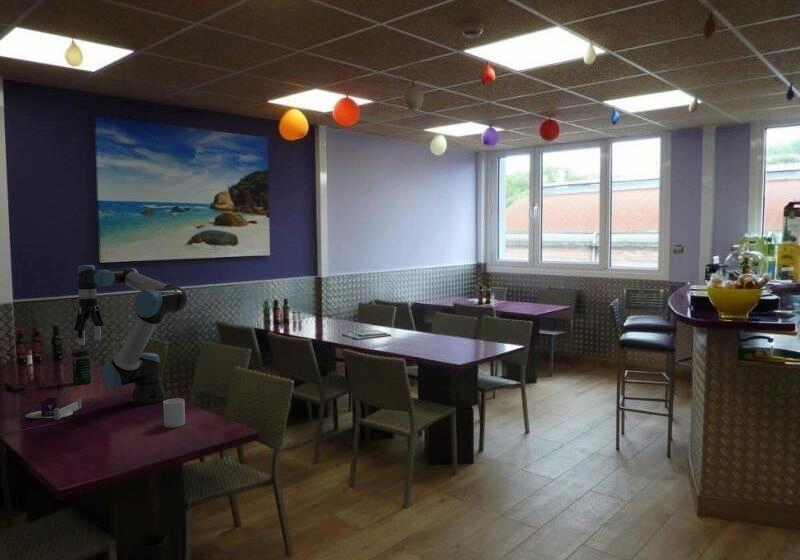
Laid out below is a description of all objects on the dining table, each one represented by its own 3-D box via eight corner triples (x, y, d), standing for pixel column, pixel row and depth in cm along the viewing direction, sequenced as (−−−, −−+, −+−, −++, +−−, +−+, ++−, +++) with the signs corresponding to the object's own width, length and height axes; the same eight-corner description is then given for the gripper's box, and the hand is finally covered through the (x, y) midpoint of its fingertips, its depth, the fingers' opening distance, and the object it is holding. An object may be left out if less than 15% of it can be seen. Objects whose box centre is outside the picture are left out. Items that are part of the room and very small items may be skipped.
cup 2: (167, 429, 244) (166, 404, 243) (159, 421, 253) (158, 398, 253) (187, 425, 249) (186, 401, 248) (179, 418, 258) (178, 395, 257)
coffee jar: (93, 383, 321) (91, 349, 319) (77, 385, 315) (75, 351, 314) (86, 380, 327) (85, 346, 326) (71, 382, 322) (69, 348, 320)
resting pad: (77, 411, 269) (77, 411, 269) (65, 418, 260) (65, 417, 260) (34, 411, 270) (34, 410, 270) (20, 417, 261) (20, 417, 261)
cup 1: (41, 417, 259) (41, 402, 259) (41, 412, 268) (40, 397, 267) (59, 415, 263) (58, 400, 262) (58, 409, 271) (57, 394, 271)
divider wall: (81, 407, 275) (81, 398, 275) (58, 419, 258) (57, 409, 257) (78, 407, 275) (77, 398, 275) (54, 419, 258) (53, 409, 257)
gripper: (94, 295, 294) (96, 337, 296) (64, 300, 269) (66, 347, 271) (109, 295, 293) (111, 337, 295) (80, 300, 269) (82, 347, 270)
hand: (90, 342), depth 283 cm, fingers open, 13 cm apart
